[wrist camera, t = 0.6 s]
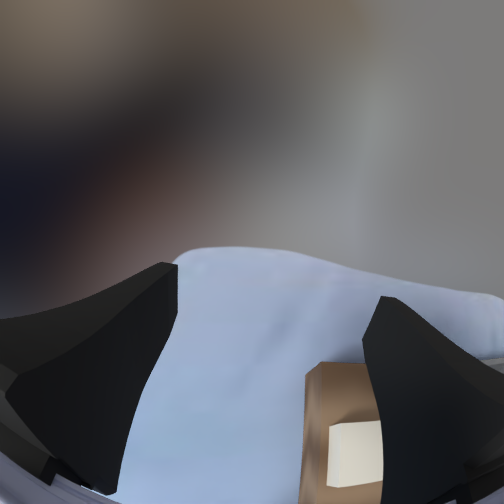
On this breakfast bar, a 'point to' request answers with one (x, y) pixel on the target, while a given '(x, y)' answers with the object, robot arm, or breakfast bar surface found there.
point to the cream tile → (355, 454)
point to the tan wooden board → (328, 414)
